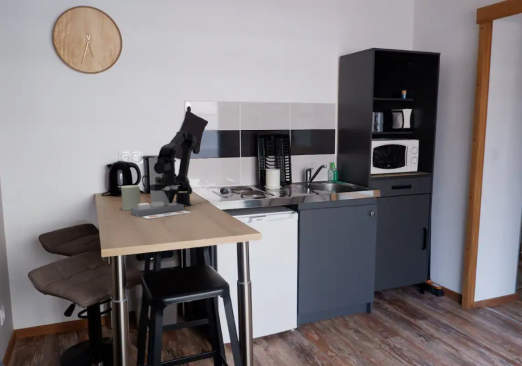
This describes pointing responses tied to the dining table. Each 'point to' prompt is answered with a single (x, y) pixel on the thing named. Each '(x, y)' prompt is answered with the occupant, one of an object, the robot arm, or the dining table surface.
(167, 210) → the button board
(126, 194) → the can
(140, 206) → the button
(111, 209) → the dining table surface
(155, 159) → the cylinder vase
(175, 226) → the dining table surface
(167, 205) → the button
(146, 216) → the pattern card
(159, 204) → the button middle
